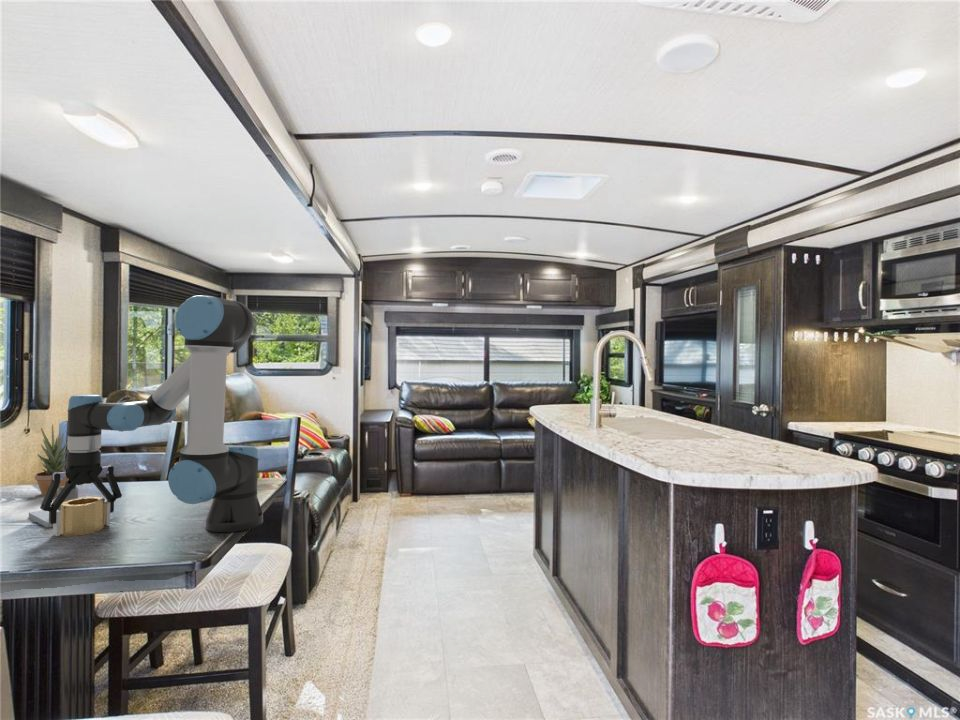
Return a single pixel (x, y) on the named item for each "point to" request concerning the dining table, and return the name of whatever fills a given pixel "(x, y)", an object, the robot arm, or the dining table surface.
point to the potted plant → (51, 463)
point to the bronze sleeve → (82, 516)
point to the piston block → (43, 516)
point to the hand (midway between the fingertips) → (82, 529)
